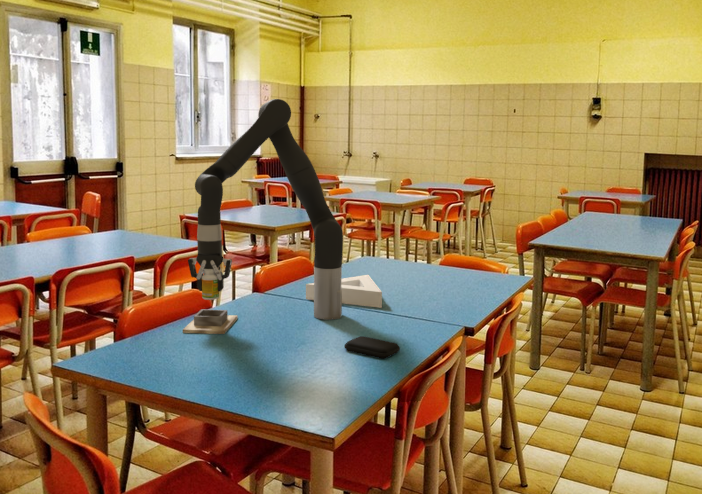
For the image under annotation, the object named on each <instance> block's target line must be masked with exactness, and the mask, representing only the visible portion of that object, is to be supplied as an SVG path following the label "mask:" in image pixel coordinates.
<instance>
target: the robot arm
mask: <svg viewBox="0 0 702 494" xmlns="http://www.w3.org/2000/svg"><path fill="white" fill-rule="evenodd" d="M291 110H292V109H291V107H290V105H289V103H288V102H287V101H285V100H284V99H281V98H273V99H270V100H268V101H266V102H265V103H263V104H262V105H261V106H260V108H259V110H258V115H257V116H258V117H257V119H256V120H255V122H254V123H253V124H252V125H251V126H250V127H249V129H247V130H246V131H245V132H244V133H243V134H242V135H240V137H238V138H237V139H236V140H235V141H234V142H233V143H232V144H231V145H230V146H229V147H228V148H227V149H226V150H224V152H223V153H222V154H221V155H220V157H219V158H217V160H216V161H214V163H212V164H211V165H209V167H208V168H206V169H205V170H203V171H202V172H201V173H200V175H199V176H197V178H196V180H195V182H194V189H195V191H196V192H197V193H198V194H199V195H200V206H199V207H198V209H197V230H196V234H197V235H196V239H197V255H196V257H190V258H189V259H187V263H188V268H189V272H190V277H191V278H194V279H196V281H197V283H196V284H197V286H196V288H197V289H198V290H199V292H202V276H203V275H204V274H205V273H204V269H214V271H215V273H216V275H217V277H218V279H219V280H218V291H219V293H220V292H222V291H223V290H224V286H225V285H224V284H225V283H224V280H225V279H228V278H229V277H230V275H231V274H230V273H231V269H232V264H233V259H232V258H224V257H223V241H222V240H223V239H222V237H223V236H222V235H223V234H222V233H223V232H222V230H223V229H222V224H221V222H222V221H221V219H222V217H221V208H222V202H223V195H224V187H223V183H224V182H225V181H226V180H227V179H229V178H232V177H233V176H235V175H236V174H237V173H238V172H239V171H240V170H241V168H242V167H243V166H244V165H245V164H246V163H247V162H248V161H249V159H250V158H251V157H252V156H253V155H254V154H255V153H256V151H257V150H258V149H260V147H261V146H262V145H263V144H264V143H265V142H266V141H267V140H268V139H269V140H270V143H272V145H273V148H274V149H275V153H276V154H277V158H278V159H279V161H280V164H281V166H282V168H283V170H284V173H285V176H286V178H287V181H288V182H289V185H290V186H291V189H292V190H293V192H294V194H295V195H296V197H297V199H298V200H299V201H300V204H301V205H302V206H303V208H304V210H305V211H306V214H307V217H308V219H309V223H310V224H311V229H312V231H313V235H314V258H313V259H314V260H313V276H314V277H313V283H314V300H313V317H314V318H316V319H318V320H337V319H338V320H339V319H341V318H342V314H343V313H342V311H343V308H342V307H343V303H342V287H341V279H342V278H343V277H342V276H343V275H342V271H343V270H342V268H343V267H342V266H343V265H342V264H343V254H344V253H343V251H344V249H343V248H344V232H343V229H342V227H341V225H340V223H339V222H338V221H337V219H336V218H335V216H334V214H333V213H332V211H331V209H330V207H329V206H328V204H327V201H326V199H325V195H324V192H323V188H322V186H321V183H320V179H319V176H318V175H317V172H316V170H315V167H314V166H313V163H312V161H311V160H310V158H309V157H308V155H307V154H306V152H305V151H304V150H303V148H302V147H301V146H300V145H299V143H298V142H297V141H296V138H294V136H293V133H292V131H291V129H290V126H289V122H290V120H291V117H292V111H291ZM197 263H198V265H199V267H200V268H199V270H198V273H197V268H196V264H197ZM221 264H223V265H224V266H225V269H224V273H223V271H222V268H221Z"/></svg>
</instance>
